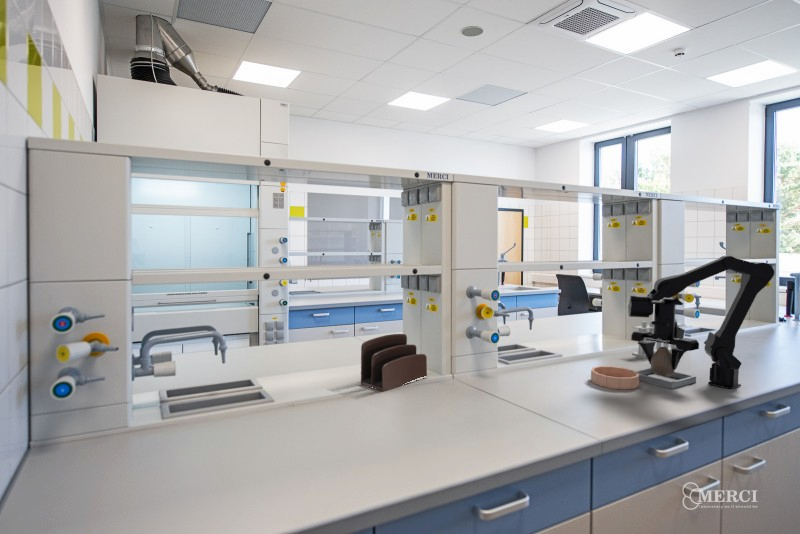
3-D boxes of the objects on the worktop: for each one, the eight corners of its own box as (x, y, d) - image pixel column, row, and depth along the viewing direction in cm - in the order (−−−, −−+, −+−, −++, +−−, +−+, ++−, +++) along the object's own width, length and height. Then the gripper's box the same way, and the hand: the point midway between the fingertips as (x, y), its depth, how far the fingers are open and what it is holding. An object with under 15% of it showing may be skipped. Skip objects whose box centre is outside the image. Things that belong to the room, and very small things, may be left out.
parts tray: (695, 382, 150) (696, 376, 150) (672, 388, 143) (672, 383, 143) (653, 371, 162) (653, 366, 161) (629, 377, 154) (629, 372, 154)
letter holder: (360, 385, 145) (360, 339, 145) (404, 372, 160) (405, 330, 159) (382, 392, 138) (383, 344, 138) (427, 378, 153) (427, 335, 152)
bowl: (647, 384, 147) (648, 374, 147) (621, 392, 140) (621, 380, 139) (608, 374, 158) (608, 364, 158) (582, 380, 151) (582, 369, 151)
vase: (645, 373, 154) (646, 346, 154) (661, 371, 157) (662, 344, 156) (663, 378, 148) (664, 350, 147) (680, 376, 150) (681, 349, 150)
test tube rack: (642, 357, 183) (643, 322, 182) (631, 354, 187) (633, 321, 186) (683, 351, 193) (685, 318, 193) (673, 348, 197) (674, 317, 197)
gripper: (709, 320, 147) (707, 370, 148) (650, 312, 163) (648, 357, 164) (690, 323, 142) (688, 375, 142) (630, 315, 157) (629, 361, 158)
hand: (662, 366), depth 152 cm, fingers closed on vase, 7 cm apart
